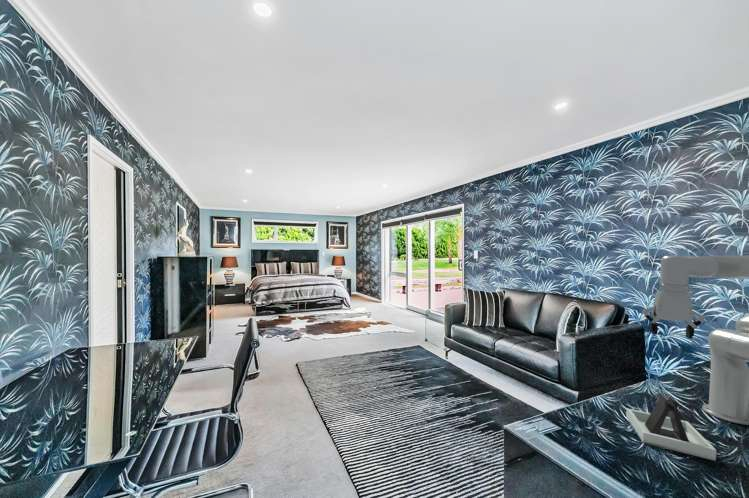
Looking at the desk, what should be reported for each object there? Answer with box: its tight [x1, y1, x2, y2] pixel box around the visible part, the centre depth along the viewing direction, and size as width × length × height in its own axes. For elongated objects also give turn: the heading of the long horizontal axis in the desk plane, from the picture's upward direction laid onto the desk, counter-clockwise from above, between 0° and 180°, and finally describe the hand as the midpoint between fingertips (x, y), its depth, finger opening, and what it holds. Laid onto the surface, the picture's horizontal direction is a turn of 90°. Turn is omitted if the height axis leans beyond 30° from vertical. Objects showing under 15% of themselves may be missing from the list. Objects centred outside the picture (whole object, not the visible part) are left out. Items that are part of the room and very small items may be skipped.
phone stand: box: [645, 392, 689, 442], centre depth 98 cm, size 9×6×12 cm, turn 63°
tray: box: [625, 408, 717, 461], centre depth 98 cm, size 16×17×3 cm
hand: (671, 335), depth 114 cm, fingers open, 9 cm apart
